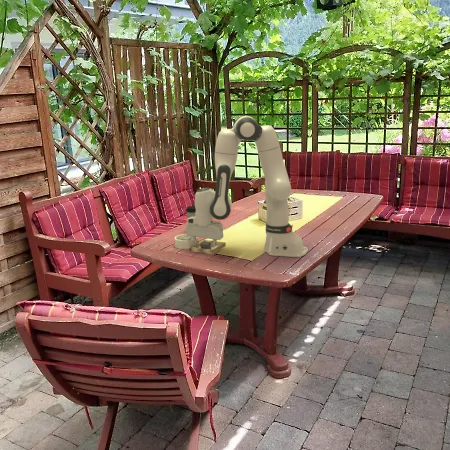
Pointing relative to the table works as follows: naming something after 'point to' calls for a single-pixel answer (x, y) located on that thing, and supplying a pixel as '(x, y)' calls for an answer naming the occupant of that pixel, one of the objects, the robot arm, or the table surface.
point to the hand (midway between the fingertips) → (204, 245)
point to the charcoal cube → (206, 245)
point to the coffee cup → (190, 211)
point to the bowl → (184, 242)
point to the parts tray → (213, 250)
